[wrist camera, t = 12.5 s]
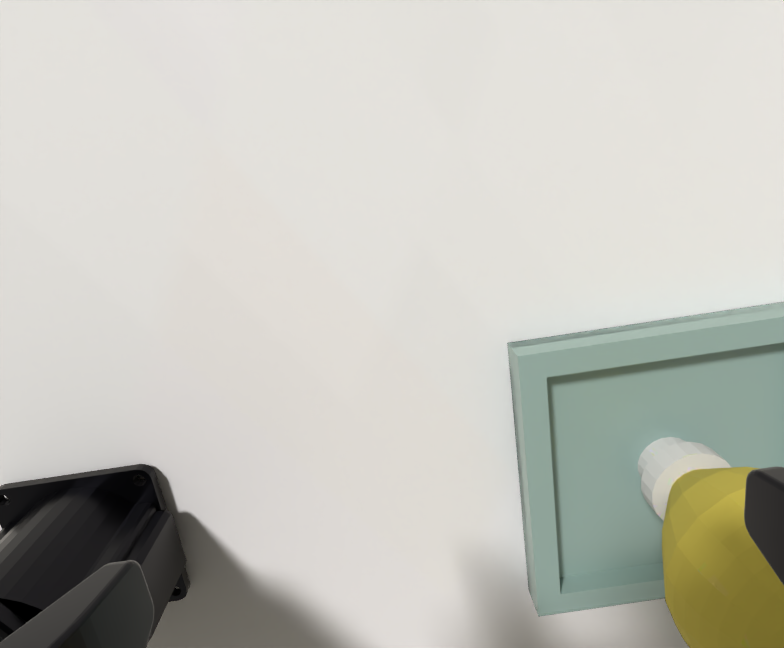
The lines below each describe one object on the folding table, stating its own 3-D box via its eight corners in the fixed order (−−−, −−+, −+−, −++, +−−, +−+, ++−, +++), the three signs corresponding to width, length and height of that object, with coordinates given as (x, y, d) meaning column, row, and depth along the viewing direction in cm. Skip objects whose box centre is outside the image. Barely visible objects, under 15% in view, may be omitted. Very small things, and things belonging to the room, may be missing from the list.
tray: (528, 589, 24) (538, 616, 23) (507, 342, 21) (517, 356, 19) (790, 551, 24) (816, 575, 23) (813, 297, 21) (846, 307, 19)
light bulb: (704, 355, 21) (992, 521, 11) (772, 477, 22) (1073, 712, 13) (555, 447, 22) (702, 673, 12) (631, 557, 23) (814, 832, 14)
